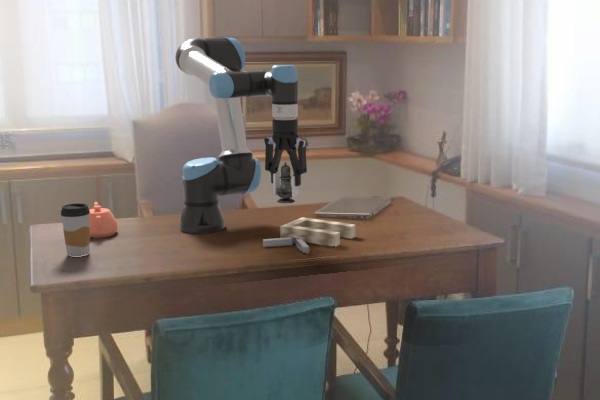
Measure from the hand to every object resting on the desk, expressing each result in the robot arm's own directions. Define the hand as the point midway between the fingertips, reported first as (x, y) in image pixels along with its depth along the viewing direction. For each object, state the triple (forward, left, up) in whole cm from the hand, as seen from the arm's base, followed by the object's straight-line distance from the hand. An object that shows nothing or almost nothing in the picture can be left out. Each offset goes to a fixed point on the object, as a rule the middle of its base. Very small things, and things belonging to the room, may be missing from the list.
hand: (286, 195), depth 223 cm
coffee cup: (-51, -36, -17) cm, 65 cm away
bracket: (+2, +16, -17) cm, 23 cm away
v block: (0, +3, -17) cm, 17 cm away
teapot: (-64, -15, -17) cm, 68 cm away
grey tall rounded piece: (0, 0, -2) cm, 2 cm away
